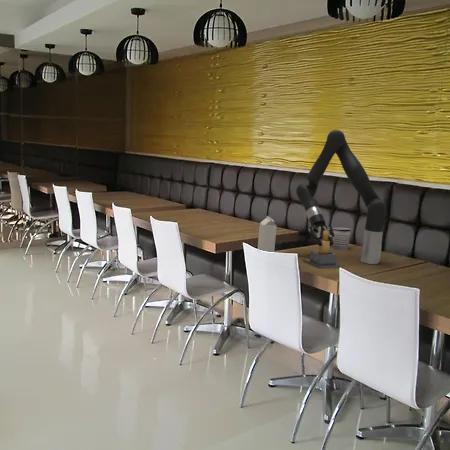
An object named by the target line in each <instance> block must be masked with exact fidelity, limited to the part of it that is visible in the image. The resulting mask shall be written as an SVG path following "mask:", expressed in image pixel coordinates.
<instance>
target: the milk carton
mask: <svg viewBox="0 0 450 450" xmlns="http://www.w3.org/2000/svg"><path fill="white" fill-rule="evenodd" d="M277 229H278V228H277V224H276V223H275V219H273V218H272V217H270V216H269V215H266V217H265V218H264V219H263V220H261V221H260V222H259V230H258V238H257V239H258V241H257V250H258V249H261V250H264V251H270V252H274V253H275V249H276V248H275V245H276V238H277V237H276V236H277Z"/></svg>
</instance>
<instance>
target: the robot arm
mask: <svg viewBox="0 0 450 450" xmlns="http://www.w3.org/2000/svg"><path fill="white" fill-rule="evenodd" d="M345 136H346V135H345V134H344V132H342V131H341V130H338V129H333V130H331V131H330V132H329V133H328V134H327V137H326V140H325V144H324V145H323V149H322V150H321V153H320V154H319V155H318V157H317V159H316V161H314V164H313V165H312V166H311V168H310V169H309V172H308V174H307V175H306V180H307V181H308V183H307V184H304V183H301V184H299V185H297V187H296V191H295V193H296V196H297V198H298V199H299V201H300V202H301V204H302V205H303V207H304V210H305V213H306V216H307V219H308V220H307V221H309V224H310V225H309V228H308V229H307V232H308V234H309V235H310V237H311V239H312V240H315V241H316V244H317V245H318V247H319V246H321V245H322V241H321V240H322V239H321V238H320V237H321V236H323V231H324V230H326V231H329V233H328V240H329V241H330V246H332V245H333V243H334V242H333V240H332V238H333V237H334V232H333V226H329V227H328V226H327V225H326V220H325V218H324V214H323V213H322V211H321V209H320V207H319V204H318V202H317V200H316V199H315V198H314V197H315V196H316V193H317V189H318V188H319V187H318V186H319V182H320V181H321V180H322V178H323V176H324V174H325V172H326V171H327V168H328V166H329V164H330V163H331V160H332V158H333V157H334V156H335V155H336V156H337V158H338V159H339V162H340V164H341V166H342V169H343V171H344V173H345V175H346V177H347V179H348V180H349V182H350V183H351V185H352V187H353V188H354V190H355V191H356V193H358V194H359V195H360V198H361V199H362V201H363V203H364V205H365V207H366V210H367V214H366V219H365V220H366V221H365V225H364V233H363V240H362V246H361V247H362V249H361V255H360V262H362V263H364V264H369V265H378V264H379V263H380V261H381V252H382V241H383V234H384V233H383V232H384V227H385V223H386V218H387V217H386V216H387V207H386V205H385V202H383V201H382V200H381V197H379V196H378V194H377V192H376V191H375V190H374V188H373V184H372V182H371V180H370V178H369V175H368V174H367V171H366V170H365V168H364V166H363V165H362V164H361V162H360V161H359V159H358V157H357V156H356V155H355V154H354V153H353V152H352V150H351V148H350V147H349V144H348V142H347V139H346V137H345Z"/></svg>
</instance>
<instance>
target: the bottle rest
mask: <svg viewBox="0 0 450 450" xmlns="http://www.w3.org/2000/svg"><path fill="white" fill-rule="evenodd" d="M309 255H310V256H309V258H305V259H304V262H305V263H306V264H309V265H311V266H313V267H315V268H318V269H334V267H336V268H341V266H342V265H341V264H339V263H337V259H338V253H334V252H333V251H330V250H329V254H320V253H318V251H314V250H310V254H309Z"/></svg>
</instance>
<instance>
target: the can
mask: <svg viewBox="0 0 450 450" xmlns="http://www.w3.org/2000/svg"><path fill="white" fill-rule="evenodd" d="M332 228H333V232H334V237H333V238H332V240H333V242H334V243H333V245H332V246H329V249H330V248H331V249H334V250H339V251H340V250H341V251H348V249H349V245H350V236H351V228H349V227H337V226H336V227H333V226H332Z"/></svg>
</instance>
